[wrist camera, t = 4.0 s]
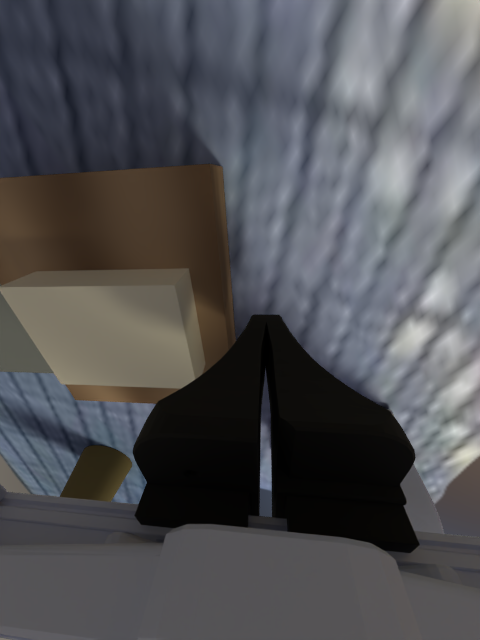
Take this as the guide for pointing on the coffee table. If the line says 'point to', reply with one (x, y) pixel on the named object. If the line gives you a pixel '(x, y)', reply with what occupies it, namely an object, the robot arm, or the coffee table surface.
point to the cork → (97, 474)
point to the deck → (126, 241)
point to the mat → (17, 345)
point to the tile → (112, 325)
